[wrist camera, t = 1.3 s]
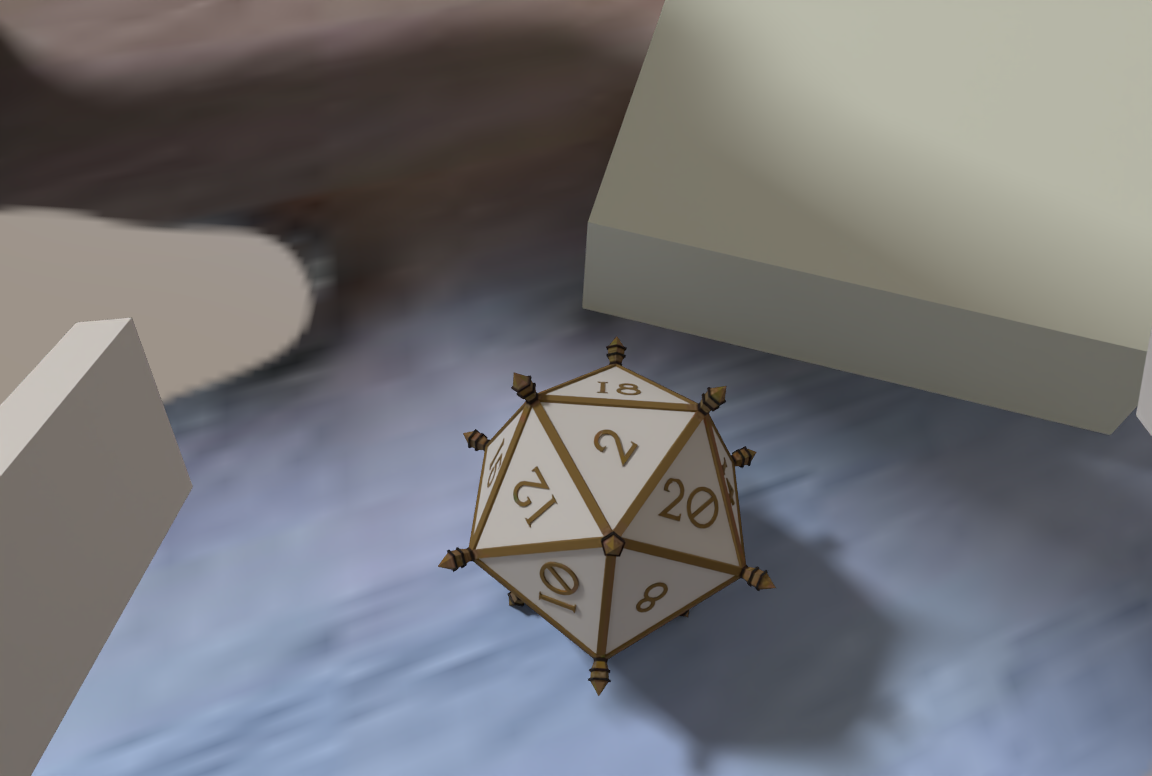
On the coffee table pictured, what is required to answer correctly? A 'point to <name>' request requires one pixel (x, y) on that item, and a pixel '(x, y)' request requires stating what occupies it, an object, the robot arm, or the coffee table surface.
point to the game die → (608, 507)
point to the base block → (896, 194)
